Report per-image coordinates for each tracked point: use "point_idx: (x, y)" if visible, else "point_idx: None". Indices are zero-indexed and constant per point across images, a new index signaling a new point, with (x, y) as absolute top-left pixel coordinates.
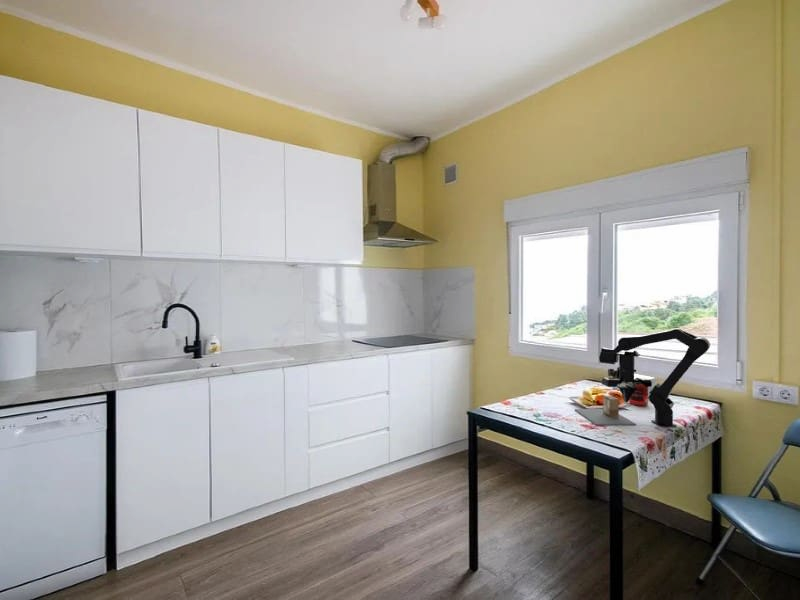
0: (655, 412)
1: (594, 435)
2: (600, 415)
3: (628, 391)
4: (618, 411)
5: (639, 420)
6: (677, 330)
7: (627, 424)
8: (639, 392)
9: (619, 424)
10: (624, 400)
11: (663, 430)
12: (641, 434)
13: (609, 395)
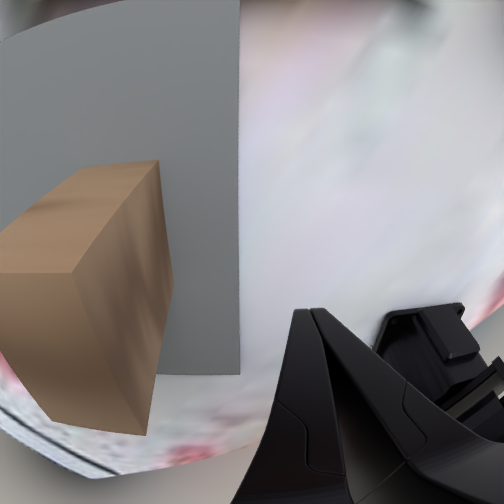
0: (431, 357)
1: (34, 415)
2: None
3: (357, 490)
4: (164, 323)
5: (330, 293)
6: None
7: (187, 371)
8: None
9: None
10: (291, 323)
11: None
12: (200, 435)
13: (38, 277)
